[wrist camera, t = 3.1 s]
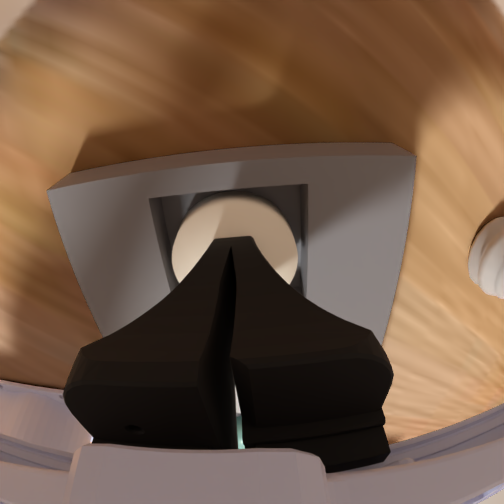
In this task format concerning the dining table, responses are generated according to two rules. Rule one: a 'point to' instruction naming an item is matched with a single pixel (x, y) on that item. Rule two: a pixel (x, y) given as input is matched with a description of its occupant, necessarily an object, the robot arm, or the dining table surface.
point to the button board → (252, 181)
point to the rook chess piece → (488, 258)
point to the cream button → (235, 231)
